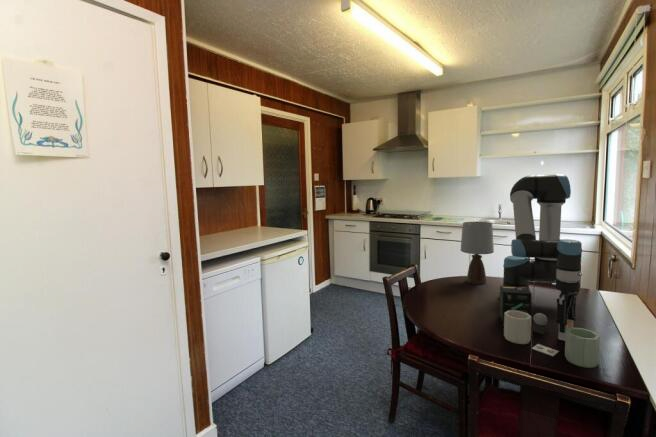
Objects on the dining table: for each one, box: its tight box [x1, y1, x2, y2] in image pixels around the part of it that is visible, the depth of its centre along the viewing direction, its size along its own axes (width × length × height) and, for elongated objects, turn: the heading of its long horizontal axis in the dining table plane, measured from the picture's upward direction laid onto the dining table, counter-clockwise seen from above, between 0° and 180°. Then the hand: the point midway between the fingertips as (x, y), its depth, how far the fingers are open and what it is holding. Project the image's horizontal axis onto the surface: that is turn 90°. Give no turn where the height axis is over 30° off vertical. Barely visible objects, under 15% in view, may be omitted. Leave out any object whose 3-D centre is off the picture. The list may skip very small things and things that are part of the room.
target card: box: [531, 343, 560, 357], centre depth 120 cm, size 7×5×1 cm
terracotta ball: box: [557, 320, 575, 329], centre depth 127 cm, size 5×5×5 cm
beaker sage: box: [564, 327, 601, 369], centre depth 112 cm, size 9×9×10 cm
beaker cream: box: [503, 310, 532, 345], centre depth 129 cm, size 9×9×10 cm
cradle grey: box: [532, 322, 548, 335], centre depth 135 cm, size 4×4×3 cm
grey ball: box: [532, 312, 548, 326], centre depth 135 cm, size 5×5×5 cm
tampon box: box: [499, 285, 532, 325], centre depth 145 cm, size 11×9×15 cm
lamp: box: [460, 221, 495, 285], centre depth 201 cm, size 19×19×37 cm
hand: (565, 337), depth 128 cm, fingers closed on terracotta ball, 5 cm apart
